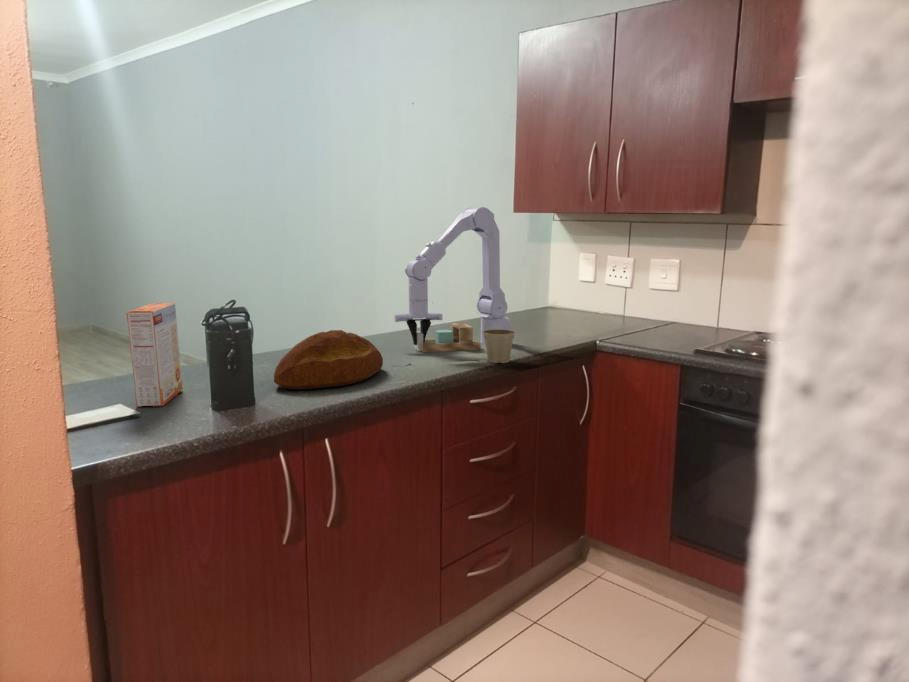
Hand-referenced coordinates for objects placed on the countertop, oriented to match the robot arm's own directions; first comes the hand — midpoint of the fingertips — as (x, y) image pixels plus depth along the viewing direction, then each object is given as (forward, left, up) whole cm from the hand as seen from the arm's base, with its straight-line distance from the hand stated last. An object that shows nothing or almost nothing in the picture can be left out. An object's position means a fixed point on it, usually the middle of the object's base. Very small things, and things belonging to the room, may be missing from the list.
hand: (418, 344), depth 201 cm
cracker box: (+67, +40, -3) cm, 78 cm away
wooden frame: (-9, 0, -2) cm, 9 cm away
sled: (-5, 0, -2) cm, 5 cm away
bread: (+28, +30, -3) cm, 41 cm away
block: (-8, 0, -1) cm, 8 cm away
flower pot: (-19, +20, -3) cm, 28 cm away
